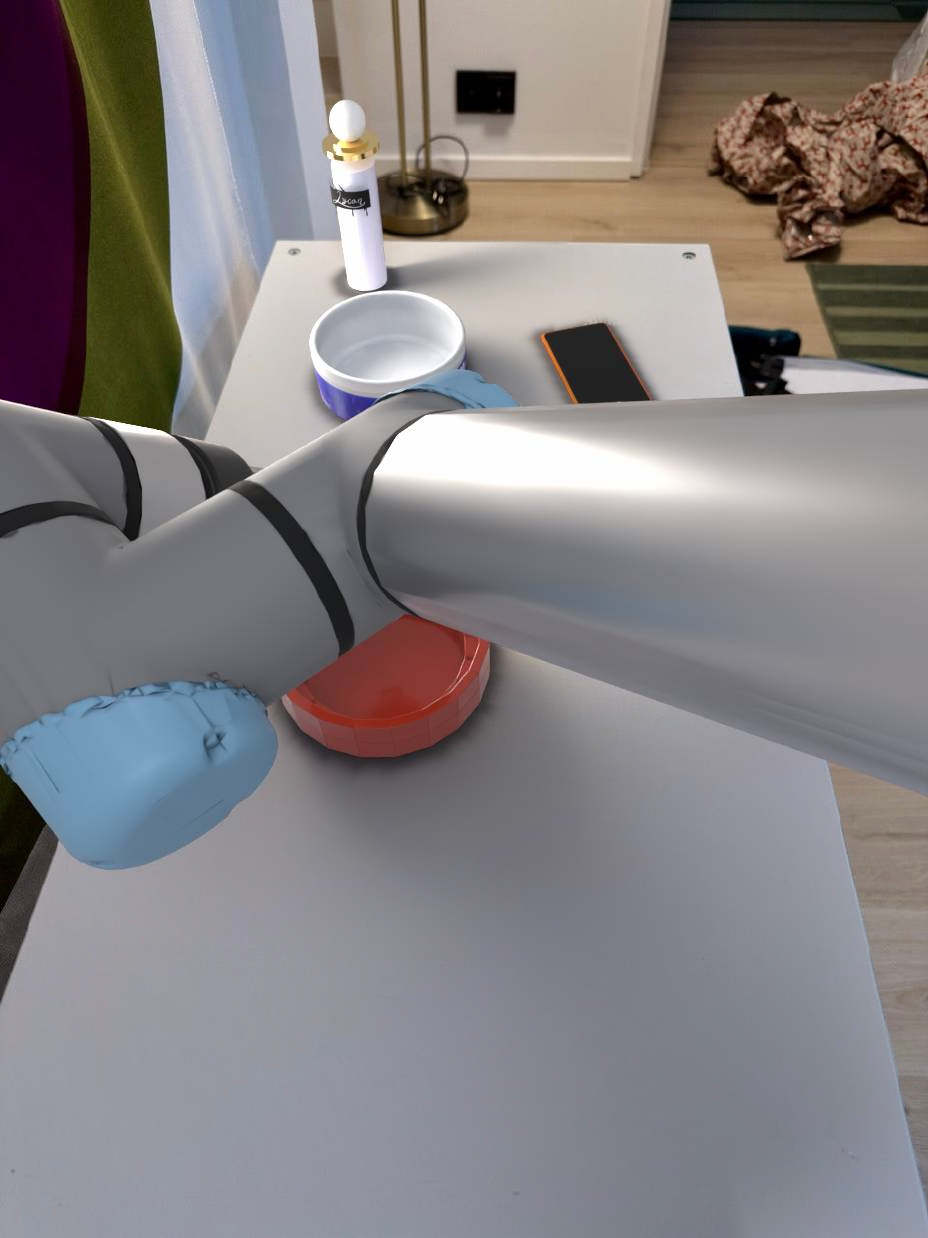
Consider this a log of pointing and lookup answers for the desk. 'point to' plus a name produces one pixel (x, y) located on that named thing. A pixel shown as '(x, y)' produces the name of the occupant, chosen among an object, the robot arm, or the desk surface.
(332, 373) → the dog bowl
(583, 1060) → the desk surface
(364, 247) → the perfume bottle
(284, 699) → the red bowl
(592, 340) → the smartphone
